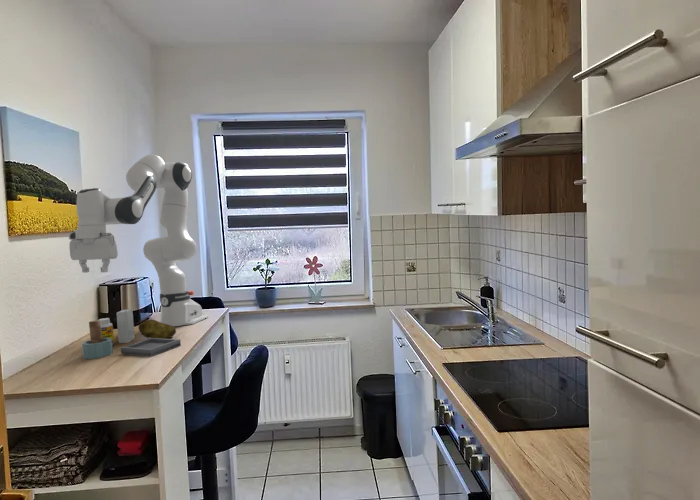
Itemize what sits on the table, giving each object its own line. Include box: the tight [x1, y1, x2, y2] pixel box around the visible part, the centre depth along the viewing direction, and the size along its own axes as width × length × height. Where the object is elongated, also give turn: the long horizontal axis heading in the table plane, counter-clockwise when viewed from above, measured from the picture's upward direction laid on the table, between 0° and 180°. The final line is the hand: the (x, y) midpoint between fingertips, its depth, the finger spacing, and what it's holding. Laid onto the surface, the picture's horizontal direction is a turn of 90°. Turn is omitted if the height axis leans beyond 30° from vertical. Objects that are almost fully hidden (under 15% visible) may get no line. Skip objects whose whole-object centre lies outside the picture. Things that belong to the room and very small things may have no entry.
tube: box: [81, 338, 114, 360], centre depth 174 cm, size 9×9×5 cm
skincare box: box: [116, 308, 135, 344], centre depth 192 cm, size 6×4×12 cm
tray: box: [120, 338, 182, 357], centre depth 177 cm, size 14×14×2 cm
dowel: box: [88, 319, 102, 344], centre depth 173 cm, size 4×4×12 cm
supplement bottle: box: [98, 317, 115, 346], centre depth 187 cm, size 6×6×10 cm
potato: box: [138, 319, 177, 339], centre depth 193 cm, size 8×13×8 cm, turn 95°
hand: (95, 272), depth 176 cm, fingers open, 8 cm apart
